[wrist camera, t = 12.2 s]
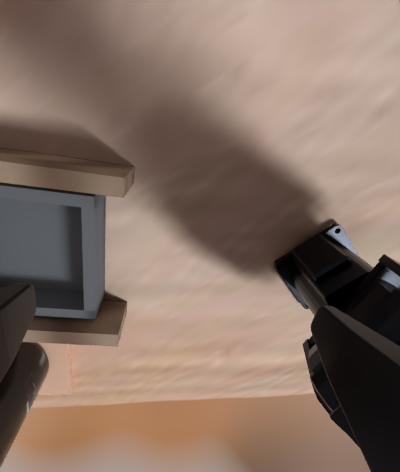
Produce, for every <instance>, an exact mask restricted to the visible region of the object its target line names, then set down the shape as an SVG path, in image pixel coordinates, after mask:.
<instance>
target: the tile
mask: <svg viewBox="0 0 400 472" xmlns="http://www.w3.org/2000/svg"><path fill="white" fill-rule="evenodd" d="M36 344H38V345H39V346H40V347H41V348H42V349H43V350H44V351H45V353H46V355H47V357H48V360H49V371H48V373H47V376H46V378H45V380H44V382H43V384H42V386H41V388H40V390H39V392H38V394H37V395H71V393H72V390H73V387H72V370H71V353H70V344H56V343H36Z"/></svg>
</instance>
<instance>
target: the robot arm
mask: <svg viewBox="0 0 400 472" xmlns="http://www.w3.org/2000/svg"><path fill="white" fill-rule="evenodd" d="M337 228H338V230H337V231H336V232H335V230H336V229H337ZM378 261H380V262H379V263H378V264H377V265H376V266H375V267H374V268H373V267H372V266H371V265H369V264H368V263H367V262H365V261H364V260H363V259H361V258H360V257H359V256H358V255H357V253H356V251H355V249H354V248H353V246H352V244H351V242H350V240H349V238H348V236H347V234H346V232H345V230H344V228H343V227H342V226H341V225H339V224H333V225H332V226H330V227H329V228H327V229H325V230H324V231H322V232H321V233H319V234H317V235H315V236H314V237H312V238H311V239H309V240H308V241H306V242H304V243H303V244H301V245H300V246H298V247H297V248H295V249H294V250H292V251H291V252H289V253H288V254H286V255H285V256H283V257H282V258H280V259H278V260H277V261H276V262H275V263H274V266H275V268H276V270H277V271H278V272H279V274H280V275H281V277H282V278H283V279H284V281H285V282H286V284H287V285H288V286H289V288H290V289H291V291H292V292H293V293H294V295H295V296H296V298H297V299H298V300H299V302H300V303H301V305H302V306H303V307H304V308H305V309H310V310H311V311H312V313H313V314H314V319H313V321H312V324H311V332H312V337H311V338H310V339H307V340H306V341H305V342H304V343H303V348H304V352H305V356H306V360H307V365H308V369H309V373H310V379H311V382H312V386H313V389H314V392H315V394H316V396H317V399H318V400H319V402H320V403H321V404H322V406H323V407H324V408H325V410H326V411H327V412H328V413H329V415H330V417H331V419H332V420H333V421H334V422H335V423H336V424H337V425H338V426H339V427H340V428H341V429H342V430H343V431H345V432H346V433H347V434H348V435H349V436H350V437H351V438H352V439H353V441H354V442H355V443H356V444H357V445H358V446H359V447H360V449H361V451H362V453H363V455H364V457H365V460H366V462H367V464H368V466H369V468H370V471H371V472H400V263H398V262H397V261H395V260H393V259H392V258H390V257H388V256H386V255H385V254H384V255H383V256H382V257H381V258H380V259H379V260H378ZM280 264H282V266H280V267H279V265H280ZM35 313H36V300H35V292H34V287H33V285H31V284H25V283H15V284H13V285H10V286H8V287H6V288H4V289H1V290H0V382H1V381H2V379H3V377H4V376H5V374H6V372H7V371H8V369H9V367H10V365H11V364H12V362H13V360H14V358H15V356H16V353H17V351H18V349H19V347H20V345H21V343H22V341H23V339H24V337H25V334H26V332H27V330H28V328H29V326H30V324H31V322H32V320H33V318H34V315H35Z"/></svg>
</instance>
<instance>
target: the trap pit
mask: <svg viewBox="0 0 400 472" xmlns="http://www.w3.org/2000/svg"><path fill="white" fill-rule="evenodd" d="M105 204H106V195H98V194H90V193H82V192H74V191H66V190H58V189H50V188H42V187H34V186H26V185H18V184H10V183H2V182H0V290H1V289H4V288H6V287H8V286H10V285H13V284H15V283H25V284H31V285H33V287H34V292H35V300H36V313H35V315H34V316H50V317H67V318H84V319H95V318H96V315H97V313H98V310H99V308H100V306H101V303H102V301H103V298H104V296H105Z"/></svg>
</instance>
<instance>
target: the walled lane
mask: <svg viewBox="0 0 400 472" xmlns="http://www.w3.org/2000/svg"><path fill="white" fill-rule="evenodd" d="M0 182H2V183H10V184H18V185H26V186H34V187H42V188H50V189H58V190H66V191H74V192H82V193H90V194H98V195H106V196H114V197H122V198H124V196H125V195H126V193H127V192H128V190H129V189H130V187H131V186H132V184H133V183H134V167H133V166H126V165H119V164H112V163H105V162H98V161H91V160H84V159H77V158H70V157H63V156H56V155H49V154H41V153H34V152H27V151H20V150H13V149H6V148H0ZM126 312H127V302H123V301H109V300H103V301H102V303H101V306H100V308H99V310H98V313H97V315H96V318H95V319H84V318H67V317H50V316H34V318H33V320H32V322H31V324H30V326H29V328H28V330H27V332H26V334H25V337H24V339H23V341H22V342H35V343H56V344H78V345H99V346H118V343H119V339H120V336H121V332H122V328H123V324H124V320H125V316H126Z"/></svg>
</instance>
